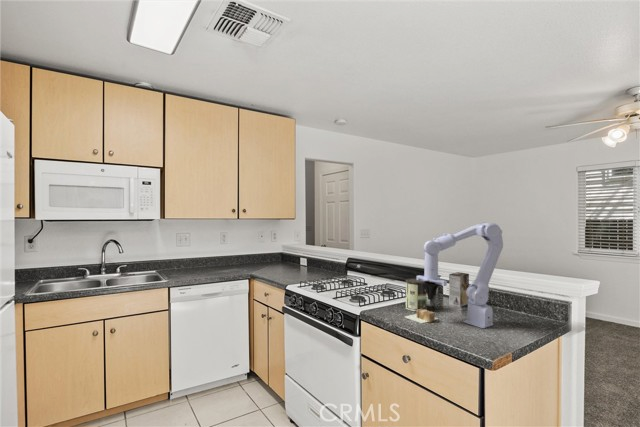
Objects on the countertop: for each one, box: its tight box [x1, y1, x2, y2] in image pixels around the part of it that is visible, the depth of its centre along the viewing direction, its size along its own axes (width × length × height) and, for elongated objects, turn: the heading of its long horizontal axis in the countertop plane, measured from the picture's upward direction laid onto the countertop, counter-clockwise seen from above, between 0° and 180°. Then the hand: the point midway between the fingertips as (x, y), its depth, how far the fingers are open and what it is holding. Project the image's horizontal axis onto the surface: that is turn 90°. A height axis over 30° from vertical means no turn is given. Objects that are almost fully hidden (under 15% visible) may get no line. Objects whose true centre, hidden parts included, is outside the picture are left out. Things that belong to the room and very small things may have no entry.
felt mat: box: [404, 313, 439, 324], centre depth 155 cm, size 10×11×1 cm
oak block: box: [416, 309, 436, 323], centre depth 153 cm, size 4×4×7 cm
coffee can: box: [405, 277, 428, 312], centre depth 170 cm, size 10×10×14 cm
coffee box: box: [448, 271, 470, 308], centre depth 178 cm, size 9×6×16 cm
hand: (430, 299), depth 150 cm, fingers closed
